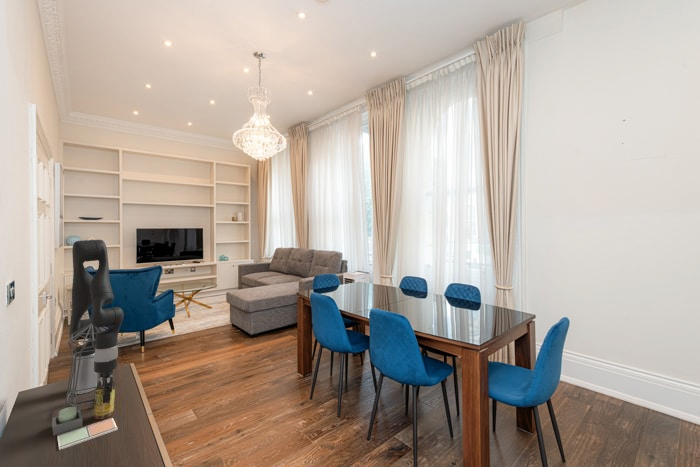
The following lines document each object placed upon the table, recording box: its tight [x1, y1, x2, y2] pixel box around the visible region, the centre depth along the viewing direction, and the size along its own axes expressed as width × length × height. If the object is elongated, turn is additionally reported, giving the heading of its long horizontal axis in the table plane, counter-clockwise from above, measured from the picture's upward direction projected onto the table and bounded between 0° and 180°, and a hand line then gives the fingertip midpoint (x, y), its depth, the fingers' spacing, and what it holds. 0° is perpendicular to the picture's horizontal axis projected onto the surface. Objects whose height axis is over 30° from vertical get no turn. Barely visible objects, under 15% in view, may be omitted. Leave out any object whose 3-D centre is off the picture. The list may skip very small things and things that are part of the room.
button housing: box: [51, 409, 84, 437], centre depth 117 cm, size 8×8×3 cm
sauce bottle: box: [93, 370, 116, 420], centre depth 125 cm, size 7×6×20 cm
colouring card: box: [56, 417, 119, 451], centre depth 113 cm, size 10×16×1 cm, turn 136°
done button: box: [58, 406, 77, 424], centre depth 117 cm, size 5×5×4 cm
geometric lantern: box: [64, 323, 109, 412], centre depth 133 cm, size 16×16×35 cm
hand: (104, 398), depth 124 cm, fingers open, 7 cm apart
